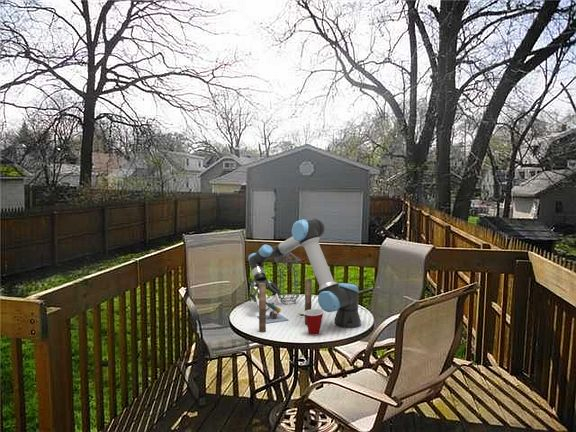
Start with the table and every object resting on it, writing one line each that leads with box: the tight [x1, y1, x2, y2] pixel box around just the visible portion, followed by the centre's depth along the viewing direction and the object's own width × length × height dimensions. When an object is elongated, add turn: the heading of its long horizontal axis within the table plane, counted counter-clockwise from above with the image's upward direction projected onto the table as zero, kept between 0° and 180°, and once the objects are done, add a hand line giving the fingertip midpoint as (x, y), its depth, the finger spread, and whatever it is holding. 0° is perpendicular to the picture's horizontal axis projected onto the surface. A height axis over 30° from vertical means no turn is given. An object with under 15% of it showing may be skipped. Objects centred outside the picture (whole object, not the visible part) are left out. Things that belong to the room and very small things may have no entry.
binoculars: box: [266, 301, 282, 319], centre depth 262 cm, size 9×9×10 cm
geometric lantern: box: [273, 251, 302, 305], centre depth 299 cm, size 16×16×35 cm
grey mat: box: [257, 312, 289, 325], centre depth 263 cm, size 14×14×1 cm
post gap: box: [258, 278, 313, 333], centre depth 246 cm, size 4×32×26 cm, turn 116°
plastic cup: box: [303, 308, 325, 336], centre depth 238 cm, size 11×11×12 cm
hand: (268, 304), depth 267 cm, fingers open, 13 cm apart
